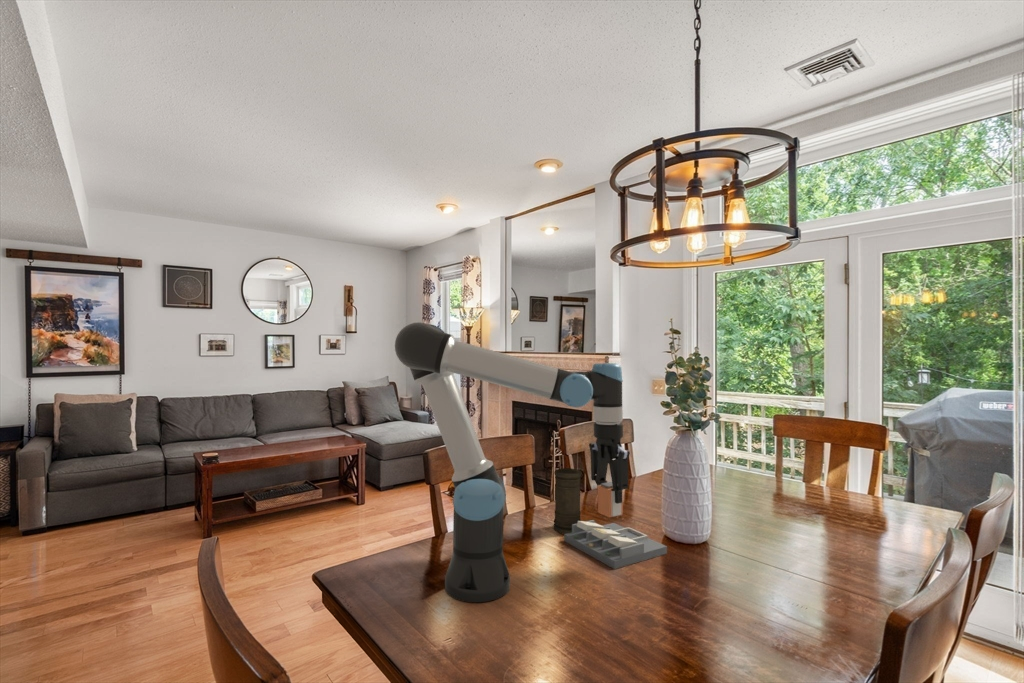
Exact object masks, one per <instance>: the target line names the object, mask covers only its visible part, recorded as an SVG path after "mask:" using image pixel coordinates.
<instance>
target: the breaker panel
mask: <svg viewBox="0 0 1024 683" xmlns="http://www.w3.org/2000/svg"><path fill="white" fill-rule="evenodd" d="M585 522H592V523H596V520H594V519H592V520H591V519H590V520H586V521H585ZM601 526H603V527H605V528H601V529H611V530H613V531H615V532H617V533H620V534H621V535H619V536H616V537H625V538H629V539H631V540H633V541H636V542H638V543H637V544H634V545H630V546H626V547H617V546H615V545H613V544H611V543H609V542H608V538H607V539H600V538H598V537H596V536H594V535H592V531H585V530H583V529H581V528H579V527H577V523H576V524H572V532H571V533H567V534H563V541H564V542H566V543H567V544H569V545H571V546H572V547H574V548H576V549H577V550H580V551H581V552H583V553H585V554H587V555H589V556H590V557H592V558H594V559H596V560H597V561H599V562H600V563H602V564H605V565H607V566H608V567H610V568H612V569H613V570H617V569H619V568H623V567H626V566H630V565H634V564H637V563H640V562H643V561H646V560H647V561H648V560H651V559H654V558H658V557H660V556H664V555H667V554H668V546H667V545H665V544H663V543H660V542H658V541H656V540H653V539H651V538H649V534H648V535H647V534H646V533H643V532H641V531H639V530H636V529H634V528H632V527H629V526H626V527H624V526H622V525H620V524H617V523H615V522H611V523H607V524H603V525H601Z"/></svg>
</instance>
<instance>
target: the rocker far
mask: <svg viewBox="0 0 1024 683" xmlns="http://www.w3.org/2000/svg"><path fill="white" fill-rule="evenodd" d="M577 527H579V528H581V529H583V530H585V531H592V529H593V528H594V529H595V528H598V529H601V528H605V527H603V526H602V525H601V524H600V523H597V522H595V523H592V522H586V521H584V520H581V521H578V522H577Z"/></svg>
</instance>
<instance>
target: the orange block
mask: <svg viewBox="0 0 1024 683" xmlns="http://www.w3.org/2000/svg"><path fill="white" fill-rule="evenodd" d="M617 485H618V484H617ZM611 489H613V485H612V481H608V482H607V483H602V484H601V485H599V486H597V485H596V491H597V492H596V494H597V493H598V495H597V514H600V515H603V516H605V517H607V518H613V517H615V516H611ZM623 504H624V503H623V500H622V503H621V515H620V516H622V515H624V509H623V508H624V507H623V506H624V505H623Z"/></svg>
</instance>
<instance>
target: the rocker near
mask: <svg viewBox="0 0 1024 683" xmlns="http://www.w3.org/2000/svg"><path fill="white" fill-rule="evenodd" d="M608 542H609V543H611V544H613V545H615V546H617V547H626V546H630V545H634V544H637V543H638V542H636V541H633V540H631V539H629V538H625V537H616V536H609V538H608Z"/></svg>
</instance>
